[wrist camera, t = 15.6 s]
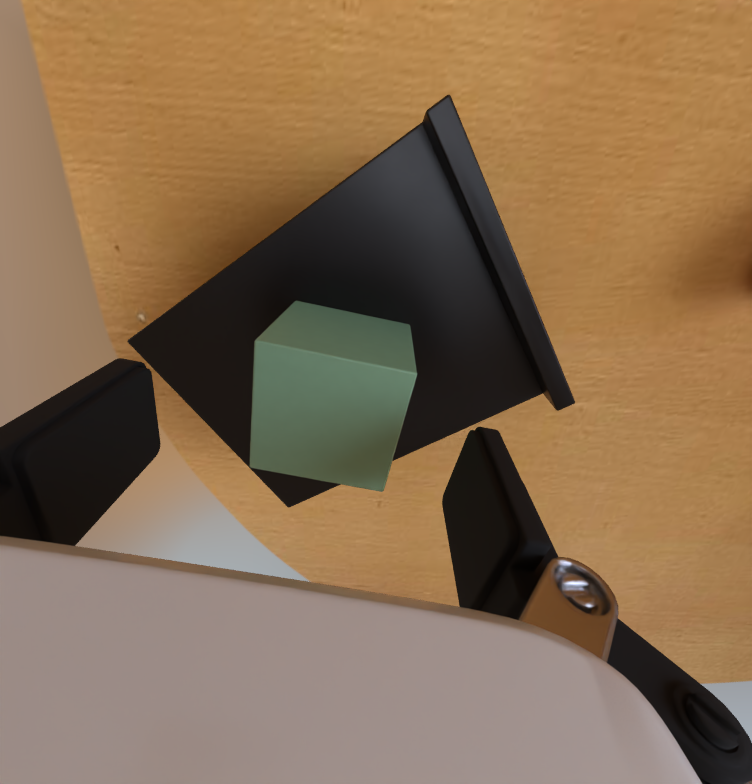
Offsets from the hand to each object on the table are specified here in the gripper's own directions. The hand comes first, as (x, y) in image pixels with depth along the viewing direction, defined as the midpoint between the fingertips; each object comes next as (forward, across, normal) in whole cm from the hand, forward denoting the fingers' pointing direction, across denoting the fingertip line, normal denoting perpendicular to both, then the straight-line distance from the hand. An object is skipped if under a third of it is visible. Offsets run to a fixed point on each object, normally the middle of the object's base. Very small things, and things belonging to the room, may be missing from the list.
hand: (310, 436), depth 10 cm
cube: (+6, 0, 0) cm, 6 cm away
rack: (+13, 0, 0) cm, 13 cm away
